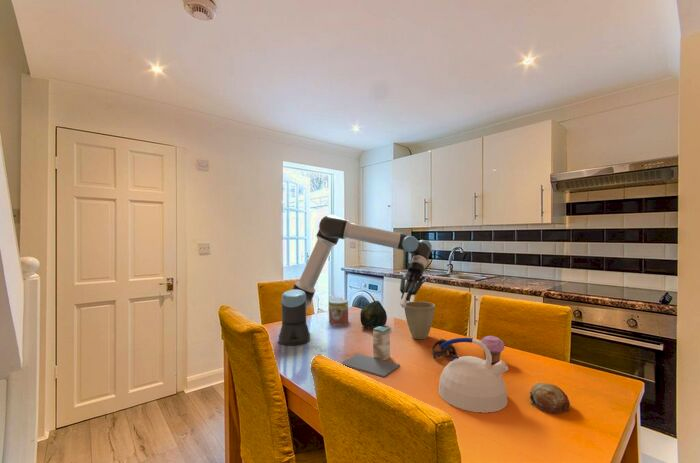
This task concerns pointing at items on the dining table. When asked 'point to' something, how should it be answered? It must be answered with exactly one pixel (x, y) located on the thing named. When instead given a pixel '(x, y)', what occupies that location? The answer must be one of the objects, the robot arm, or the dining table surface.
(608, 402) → the dining table surface
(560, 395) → the brown rounded lump
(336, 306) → the canned food
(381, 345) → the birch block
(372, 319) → the squash
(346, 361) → the mat
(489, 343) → the cupcake
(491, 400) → the kettle
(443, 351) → the vr controller
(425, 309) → the plant pot
